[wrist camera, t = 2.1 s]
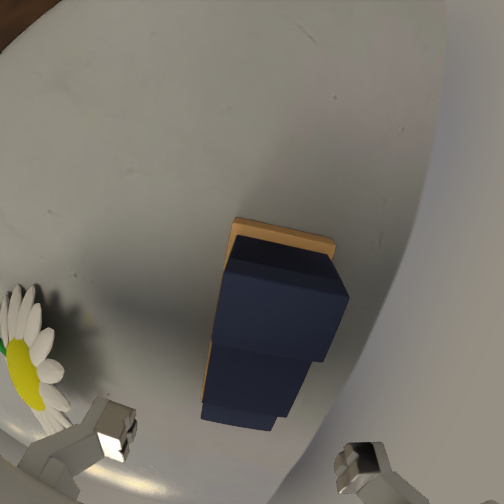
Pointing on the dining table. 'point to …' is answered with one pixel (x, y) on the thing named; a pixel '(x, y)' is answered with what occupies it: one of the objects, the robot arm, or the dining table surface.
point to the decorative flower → (33, 360)
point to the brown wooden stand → (19, 17)
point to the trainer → (269, 322)
